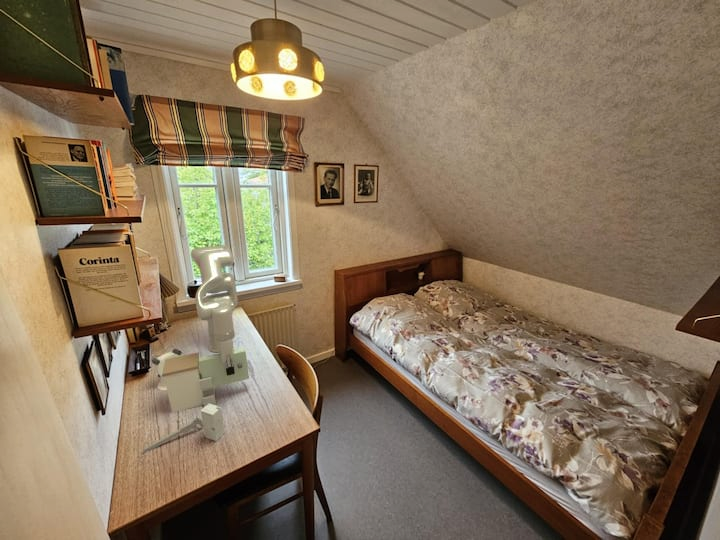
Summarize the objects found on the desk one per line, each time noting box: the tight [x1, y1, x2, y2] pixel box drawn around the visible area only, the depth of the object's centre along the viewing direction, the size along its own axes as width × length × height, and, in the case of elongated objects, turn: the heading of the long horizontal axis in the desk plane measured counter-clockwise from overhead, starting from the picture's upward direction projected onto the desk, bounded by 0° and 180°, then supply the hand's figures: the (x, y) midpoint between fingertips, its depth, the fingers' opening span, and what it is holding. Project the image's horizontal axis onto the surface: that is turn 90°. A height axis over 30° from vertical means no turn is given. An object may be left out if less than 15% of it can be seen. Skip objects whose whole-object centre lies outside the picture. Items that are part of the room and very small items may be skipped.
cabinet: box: [162, 352, 217, 414], centre depth 133 cm, size 12×17×19 cm
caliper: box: [140, 416, 204, 455], centre depth 115 cm, size 20×1×6 cm, turn 124°
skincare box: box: [200, 403, 225, 442], centre depth 116 cm, size 6×4×12 cm
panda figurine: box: [151, 348, 182, 392], centre depth 145 cm, size 12×11×15 cm
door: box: [199, 347, 250, 390], centre depth 133 cm, size 4×18×14 cm, turn 115°
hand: (230, 371), depth 135 cm, fingers closed on door, 3 cm apart
